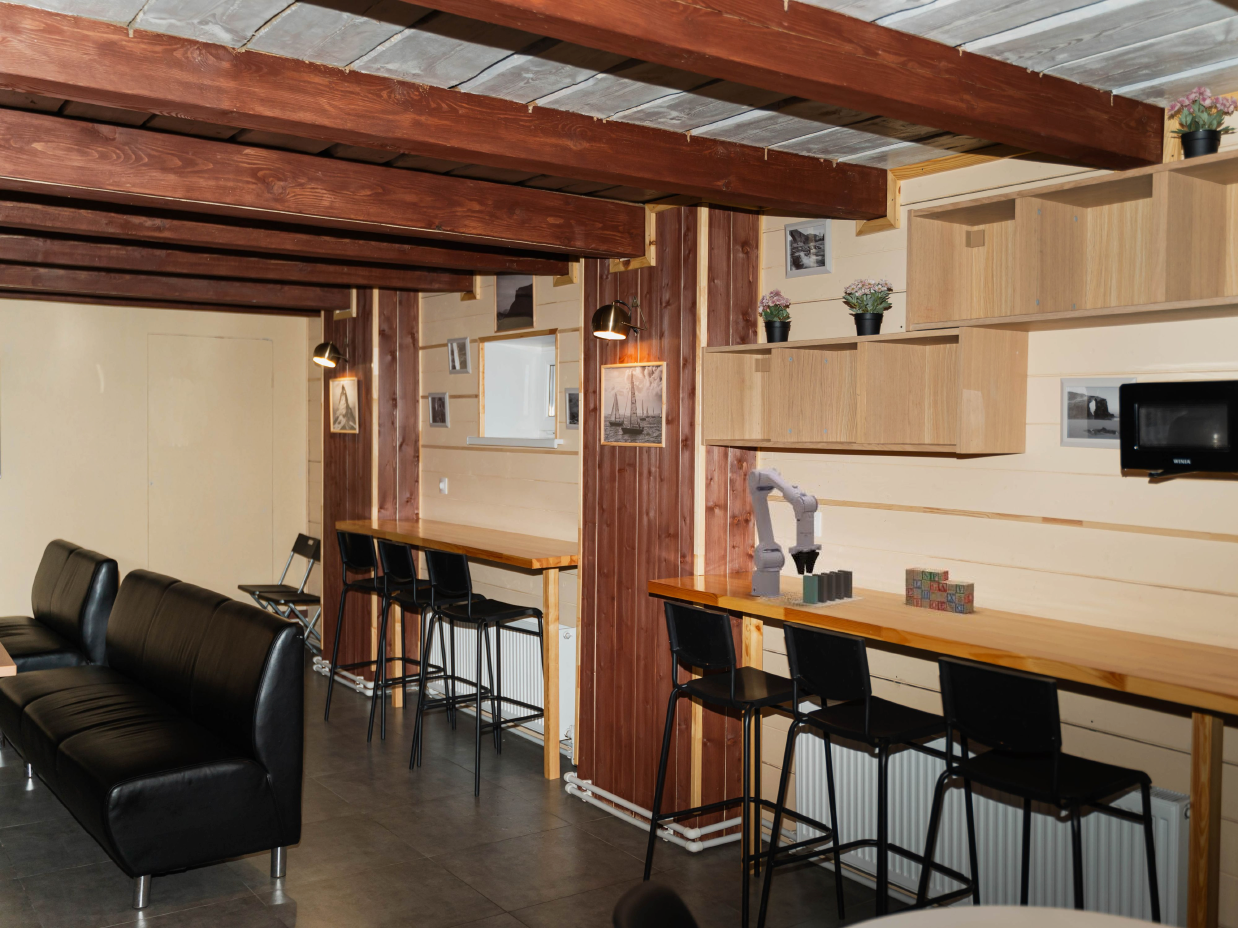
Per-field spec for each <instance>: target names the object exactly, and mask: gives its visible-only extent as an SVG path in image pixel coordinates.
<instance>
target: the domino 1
mask: <svg viewBox="0 0 1238 928" xmlns="http://www.w3.org/2000/svg"><path fill="white" fill-rule="evenodd" d="M802 600H803V603H809V604H818V577H816V576H812V575H809V574H804V575H802Z"/></svg>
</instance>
